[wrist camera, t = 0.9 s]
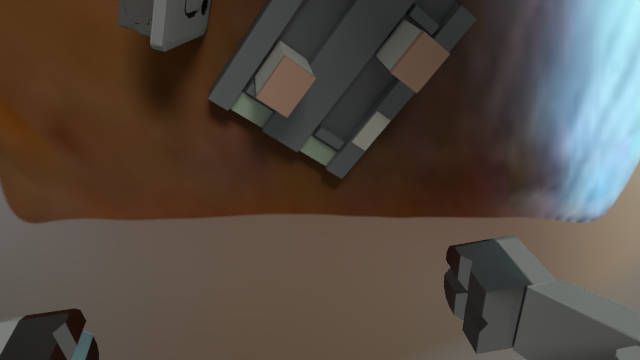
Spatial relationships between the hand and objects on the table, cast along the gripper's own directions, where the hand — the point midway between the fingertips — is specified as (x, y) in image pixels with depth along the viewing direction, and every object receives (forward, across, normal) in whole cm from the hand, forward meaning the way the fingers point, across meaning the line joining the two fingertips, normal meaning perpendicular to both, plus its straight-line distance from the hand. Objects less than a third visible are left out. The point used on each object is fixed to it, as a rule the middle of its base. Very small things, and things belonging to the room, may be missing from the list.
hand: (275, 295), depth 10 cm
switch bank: (+35, -8, +4) cm, 36 cm away
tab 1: (+33, -3, +4) cm, 33 cm away
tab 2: (+33, -14, +3) cm, 36 cm away
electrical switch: (+35, +5, -4) cm, 36 cm away
